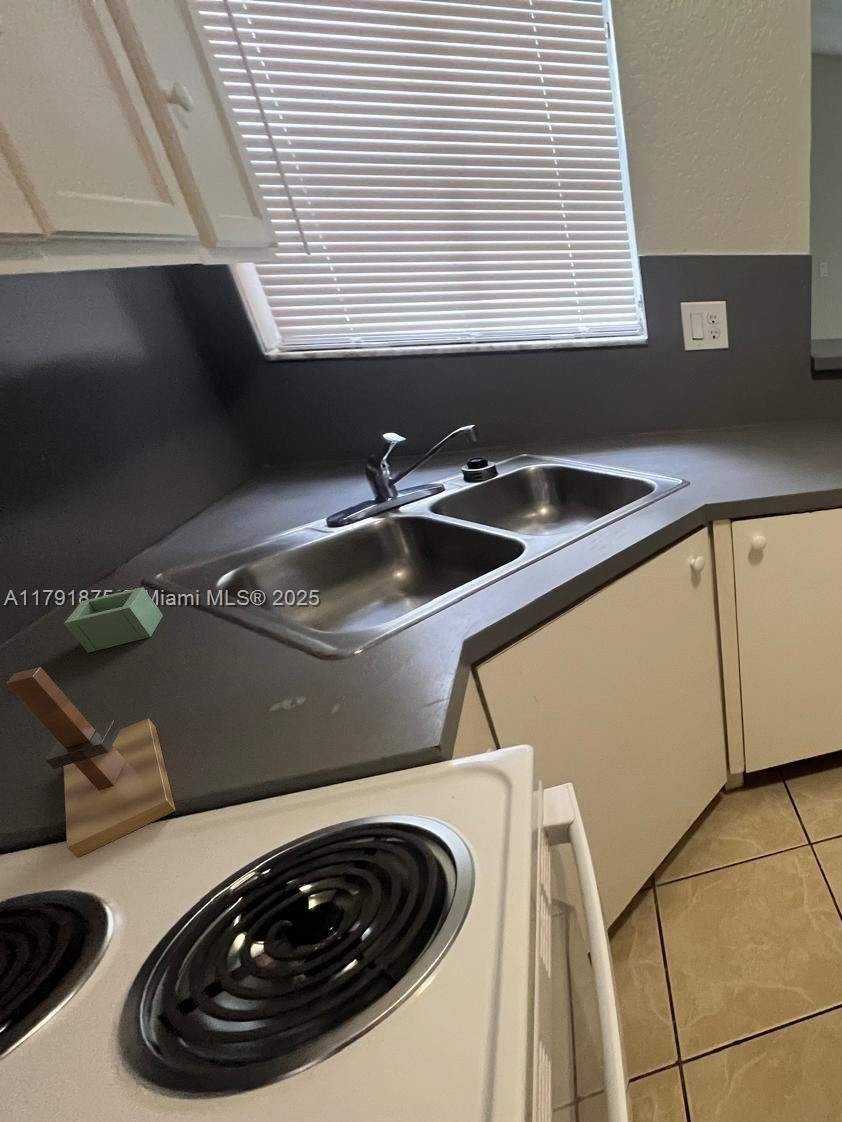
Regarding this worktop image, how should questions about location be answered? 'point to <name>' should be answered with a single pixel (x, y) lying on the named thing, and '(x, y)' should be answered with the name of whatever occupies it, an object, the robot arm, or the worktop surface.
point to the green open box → (114, 619)
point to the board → (118, 793)
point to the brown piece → (70, 729)
